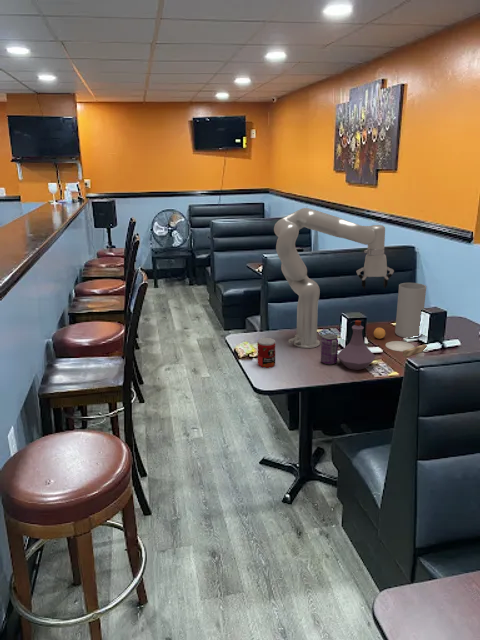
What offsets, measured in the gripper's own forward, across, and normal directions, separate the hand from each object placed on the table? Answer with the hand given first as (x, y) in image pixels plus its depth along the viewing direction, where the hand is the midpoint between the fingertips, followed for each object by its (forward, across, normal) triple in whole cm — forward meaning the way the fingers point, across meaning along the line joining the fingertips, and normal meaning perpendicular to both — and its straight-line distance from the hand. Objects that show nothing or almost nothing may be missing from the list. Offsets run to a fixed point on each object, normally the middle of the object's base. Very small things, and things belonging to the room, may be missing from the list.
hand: (374, 287), depth 238 cm
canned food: (+24, -51, -36) cm, 67 cm away
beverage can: (+24, -24, -33) cm, 47 cm away
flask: (+25, -13, -36) cm, 45 cm away
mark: (+26, +11, -12) cm, 30 cm away
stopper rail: (+26, +16, -20) cm, 36 cm away
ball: (+23, +3, -2) cm, 23 cm away
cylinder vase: (+26, +18, +5) cm, 32 cm away
